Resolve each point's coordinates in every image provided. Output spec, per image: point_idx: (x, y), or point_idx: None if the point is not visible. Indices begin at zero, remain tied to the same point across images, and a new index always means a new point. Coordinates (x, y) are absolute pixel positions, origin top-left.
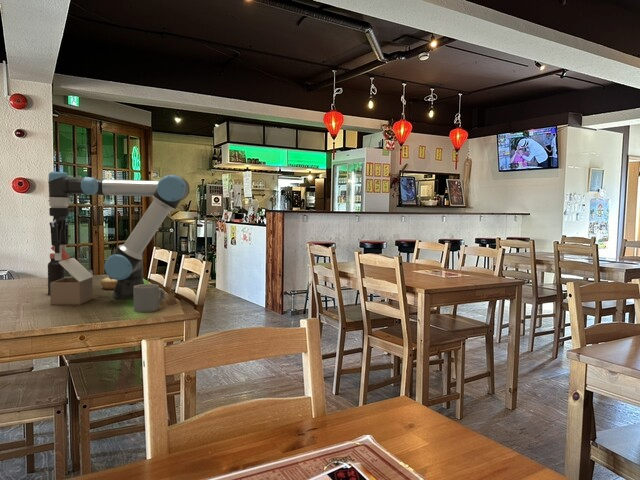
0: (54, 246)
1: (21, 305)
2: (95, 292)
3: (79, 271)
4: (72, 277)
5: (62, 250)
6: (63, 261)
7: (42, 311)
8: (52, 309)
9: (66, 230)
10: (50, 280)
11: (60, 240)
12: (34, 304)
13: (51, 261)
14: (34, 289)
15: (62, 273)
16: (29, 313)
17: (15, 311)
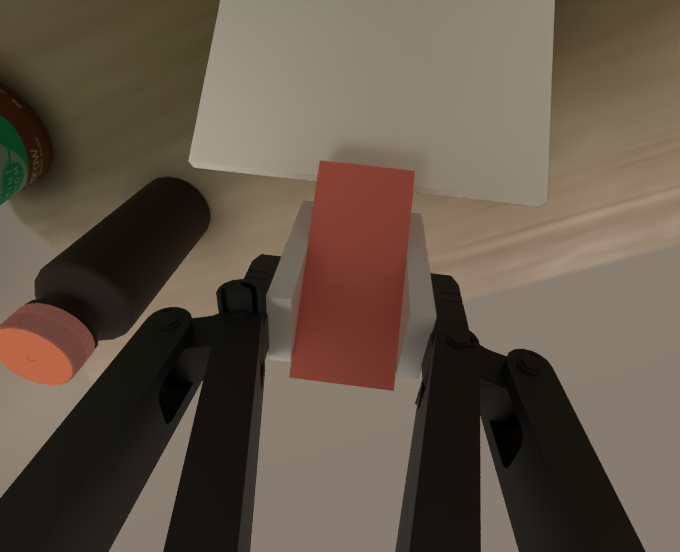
0: (418, 370)
1: (436, 261)
2: (80, 4)
3: (385, 15)
4: (2, 196)
5: (341, 275)
6: (470, 178)
7: (623, 131)
8: (588, 96)
9: (59, 532)
10: (178, 262)
11: (440, 384)
12: (424, 221)
13: (103, 333)
14: None
15: (119, 231)
16: (648, 175)
17: (568, 243)
